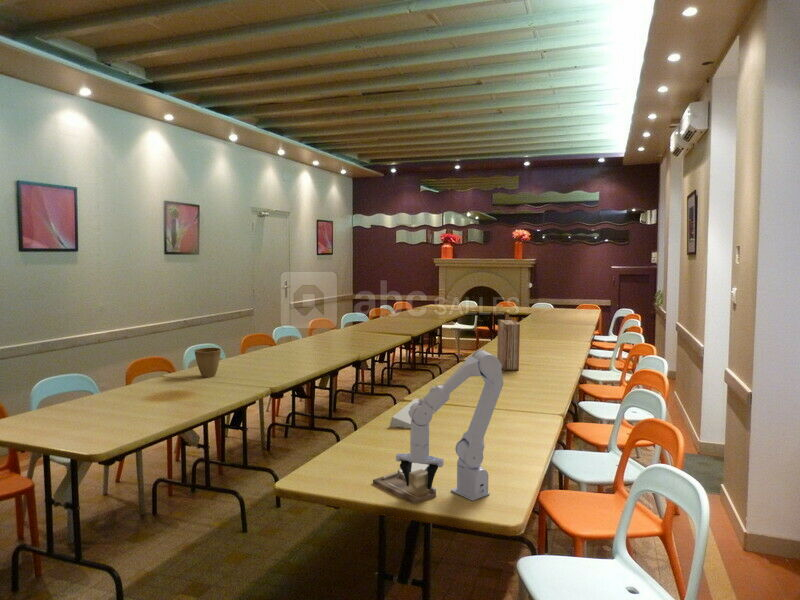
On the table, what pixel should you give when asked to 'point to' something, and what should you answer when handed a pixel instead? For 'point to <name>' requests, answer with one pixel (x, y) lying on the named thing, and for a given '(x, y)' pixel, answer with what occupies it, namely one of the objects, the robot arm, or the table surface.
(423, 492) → the block
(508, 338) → the tall wooden block
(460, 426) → the table surface
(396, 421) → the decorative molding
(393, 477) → the board
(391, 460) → the table surface
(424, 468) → the smartphone
